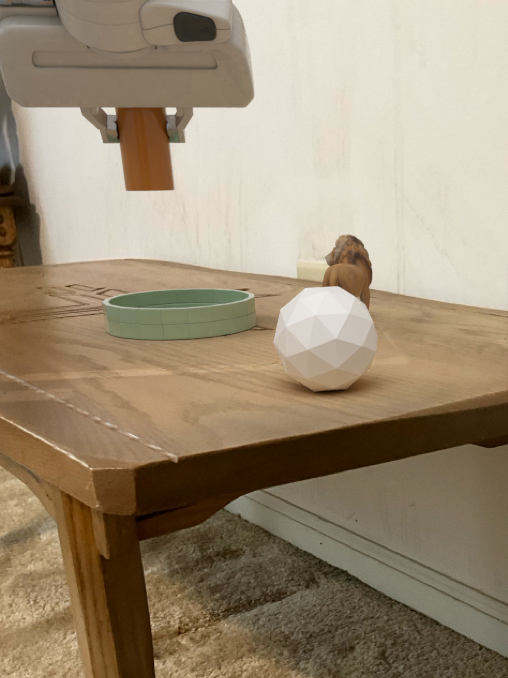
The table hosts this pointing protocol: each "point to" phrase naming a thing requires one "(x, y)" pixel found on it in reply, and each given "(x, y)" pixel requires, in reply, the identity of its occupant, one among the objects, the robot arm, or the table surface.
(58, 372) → the table surface
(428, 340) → the table surface
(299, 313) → the geometric ball
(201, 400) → the table surface
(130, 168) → the spice jar
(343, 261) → the lion figurine
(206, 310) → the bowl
